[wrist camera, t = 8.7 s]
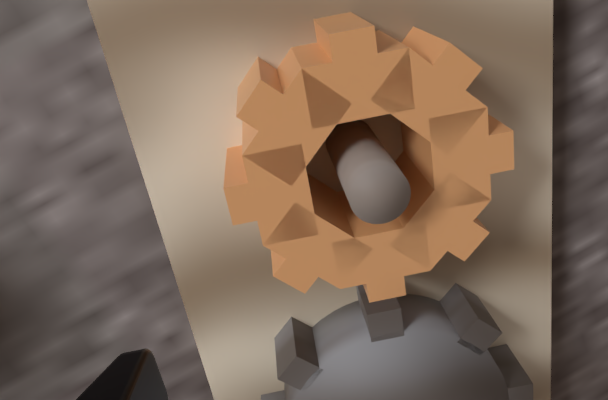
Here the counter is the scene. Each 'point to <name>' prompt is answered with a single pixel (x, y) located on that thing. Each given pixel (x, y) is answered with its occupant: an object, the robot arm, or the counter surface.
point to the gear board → (361, 196)
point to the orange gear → (412, 161)
